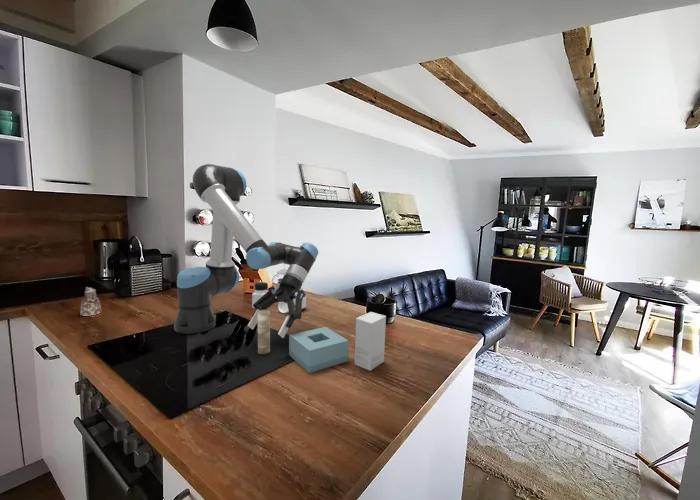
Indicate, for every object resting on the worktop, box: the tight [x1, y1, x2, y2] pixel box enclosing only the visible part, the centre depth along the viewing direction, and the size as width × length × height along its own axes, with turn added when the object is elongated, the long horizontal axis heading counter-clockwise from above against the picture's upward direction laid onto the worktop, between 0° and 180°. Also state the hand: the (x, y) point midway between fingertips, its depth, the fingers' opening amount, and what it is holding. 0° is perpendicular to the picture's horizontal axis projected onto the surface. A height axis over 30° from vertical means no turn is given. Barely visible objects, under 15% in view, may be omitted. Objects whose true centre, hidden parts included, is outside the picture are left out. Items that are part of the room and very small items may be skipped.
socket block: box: [288, 326, 349, 374], centre depth 103 cm, size 14×14×7 cm
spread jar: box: [277, 285, 307, 314], centre depth 151 cm, size 12×11×12 cm
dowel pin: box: [257, 309, 271, 355], centre depth 107 cm, size 4×4×14 cm
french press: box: [271, 268, 288, 298], centre depth 174 cm, size 10×12×25 cm
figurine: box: [79, 286, 102, 316], centre depth 138 cm, size 7×7×12 cm
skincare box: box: [354, 311, 387, 371], centre depth 100 cm, size 8×7×16 cm
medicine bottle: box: [251, 281, 269, 309], centre depth 156 cm, size 7×7×12 cm
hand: (264, 331), depth 106 cm, fingers open, 13 cm apart
